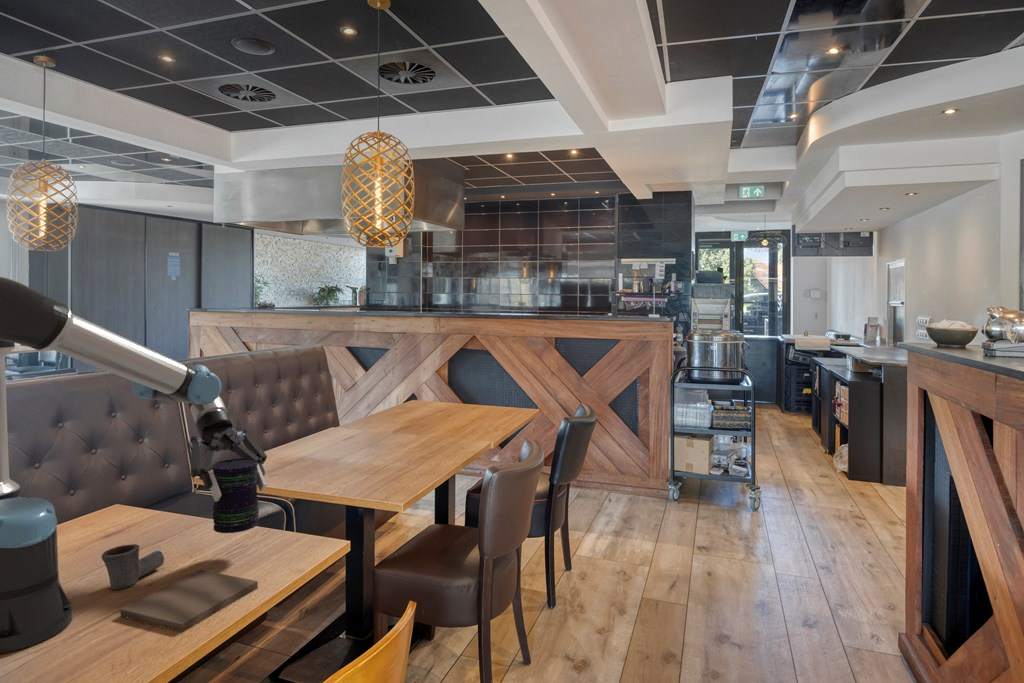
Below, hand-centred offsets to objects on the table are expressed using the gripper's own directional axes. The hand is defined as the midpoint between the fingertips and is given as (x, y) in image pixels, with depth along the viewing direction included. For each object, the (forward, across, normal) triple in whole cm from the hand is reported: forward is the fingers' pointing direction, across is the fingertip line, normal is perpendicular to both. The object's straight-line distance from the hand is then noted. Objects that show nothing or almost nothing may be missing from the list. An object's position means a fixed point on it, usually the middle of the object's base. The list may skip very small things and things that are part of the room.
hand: (241, 492), depth 137 cm
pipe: (+6, +20, -17) cm, 27 cm away
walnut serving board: (+20, +16, -3) cm, 26 cm away
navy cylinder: (+4, 0, -8) cm, 9 cm away
